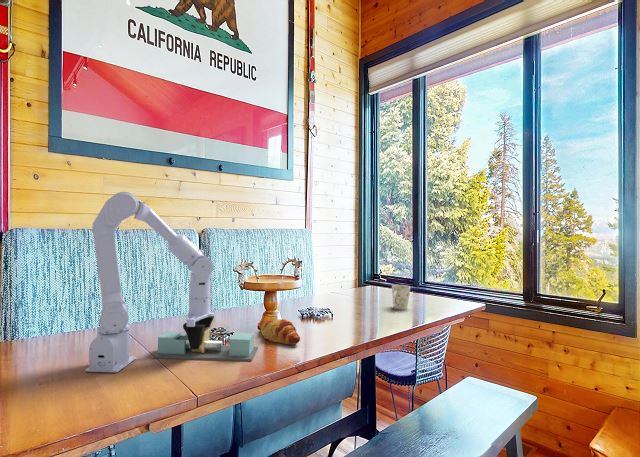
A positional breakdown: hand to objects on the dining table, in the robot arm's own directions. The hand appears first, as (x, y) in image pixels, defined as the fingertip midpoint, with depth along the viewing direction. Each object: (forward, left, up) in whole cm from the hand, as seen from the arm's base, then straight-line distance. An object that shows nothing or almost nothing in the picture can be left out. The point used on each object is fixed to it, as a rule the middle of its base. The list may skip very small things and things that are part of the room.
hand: (198, 345), depth 105 cm
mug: (+63, -70, -2) cm, 94 cm away
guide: (0, -3, -2) cm, 4 cm away
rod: (0, +1, -1) cm, 2 cm away
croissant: (+16, -21, -3) cm, 27 cm away
